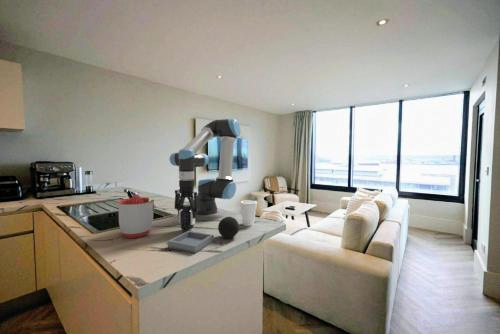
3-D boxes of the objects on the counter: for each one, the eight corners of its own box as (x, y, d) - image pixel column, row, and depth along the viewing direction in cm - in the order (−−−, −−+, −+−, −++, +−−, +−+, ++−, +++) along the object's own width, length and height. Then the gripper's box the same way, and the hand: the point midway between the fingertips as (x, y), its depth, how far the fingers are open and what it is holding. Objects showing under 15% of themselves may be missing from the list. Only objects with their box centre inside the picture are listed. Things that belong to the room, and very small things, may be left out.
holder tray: (188, 236, 106) (188, 230, 106) (213, 241, 101) (213, 234, 100) (167, 247, 93) (167, 240, 93) (195, 253, 88) (195, 246, 87)
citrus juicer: (162, 233, 110) (162, 193, 109) (124, 243, 97) (124, 198, 96) (149, 226, 120) (149, 190, 119) (113, 234, 107) (112, 194, 106)
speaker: (213, 238, 104) (213, 217, 104) (227, 232, 113) (227, 213, 112) (229, 243, 99) (230, 221, 98) (242, 236, 107) (243, 216, 106)
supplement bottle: (183, 225, 118) (183, 203, 117) (195, 226, 117) (195, 204, 116) (178, 230, 111) (177, 206, 110) (191, 230, 110) (190, 207, 109)
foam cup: (250, 227, 120) (251, 204, 119) (237, 224, 125) (237, 202, 124) (259, 223, 128) (259, 201, 127) (246, 220, 133) (246, 199, 132)
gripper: (166, 179, 112) (166, 222, 114) (198, 181, 105) (198, 228, 107) (176, 177, 119) (176, 218, 121) (207, 179, 112) (207, 223, 114)
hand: (187, 223), depth 114 cm, fingers closed on supplement bottle, 7 cm apart
